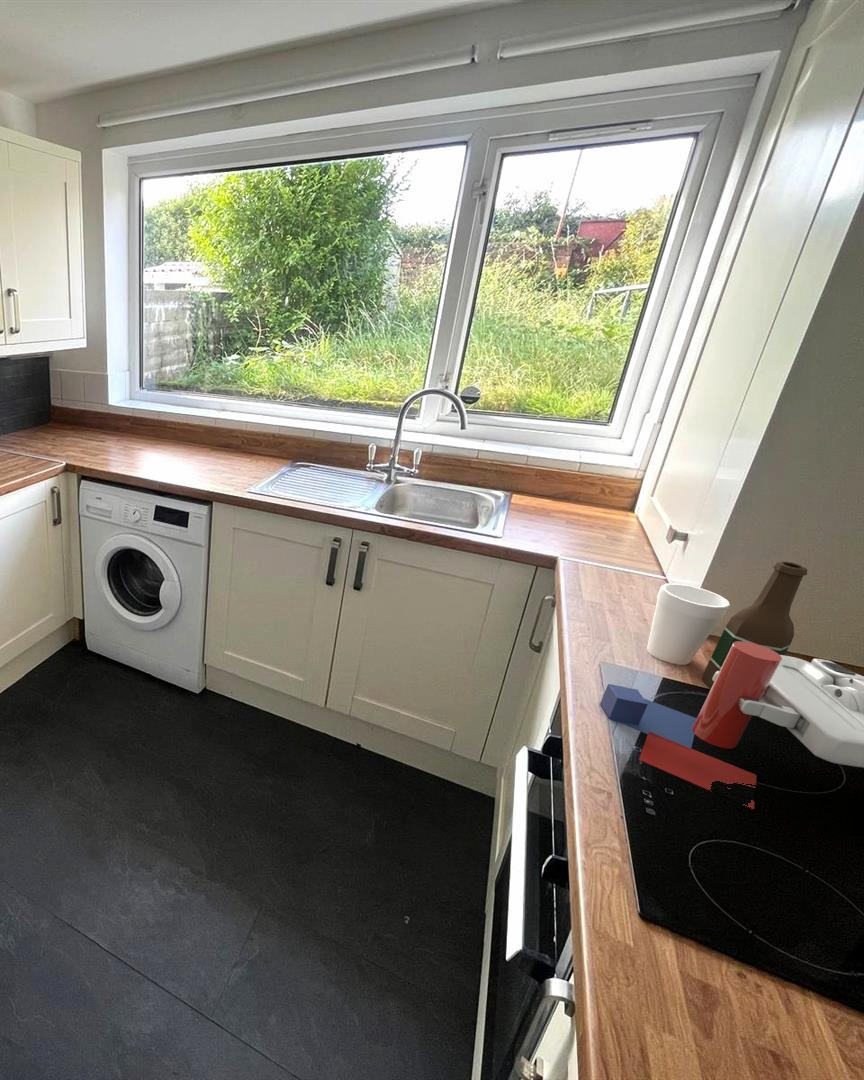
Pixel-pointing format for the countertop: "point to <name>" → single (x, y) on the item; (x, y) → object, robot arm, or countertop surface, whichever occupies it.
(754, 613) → the beer bottle
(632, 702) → the blue block
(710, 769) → the red mat
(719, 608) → the foam cup
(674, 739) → the blue mat
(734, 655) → the red canister
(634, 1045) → the countertop surface
